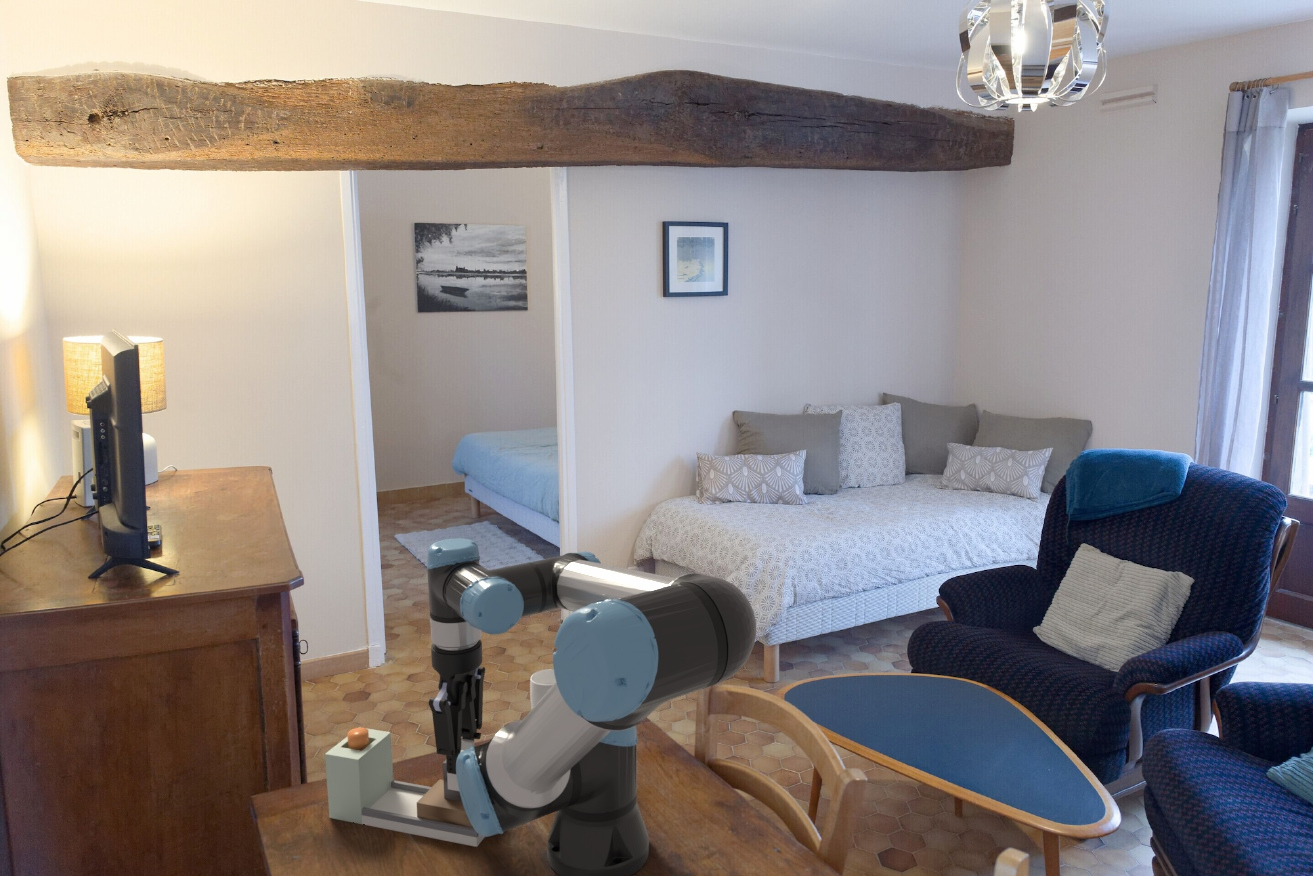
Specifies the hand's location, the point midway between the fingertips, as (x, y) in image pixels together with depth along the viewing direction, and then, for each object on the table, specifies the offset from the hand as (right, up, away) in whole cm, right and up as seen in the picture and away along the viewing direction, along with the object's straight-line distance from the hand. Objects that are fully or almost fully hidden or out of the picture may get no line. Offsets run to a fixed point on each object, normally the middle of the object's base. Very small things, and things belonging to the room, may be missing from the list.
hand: (461, 783), depth 143 cm
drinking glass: (+11, -3, +22) cm, 25 cm away
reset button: (-17, +4, +5) cm, 19 cm away
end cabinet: (-17, -6, +7) cm, 20 cm away
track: (-5, -7, +3) cm, 9 cm away
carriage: (-1, -5, +1) cm, 5 cm away
